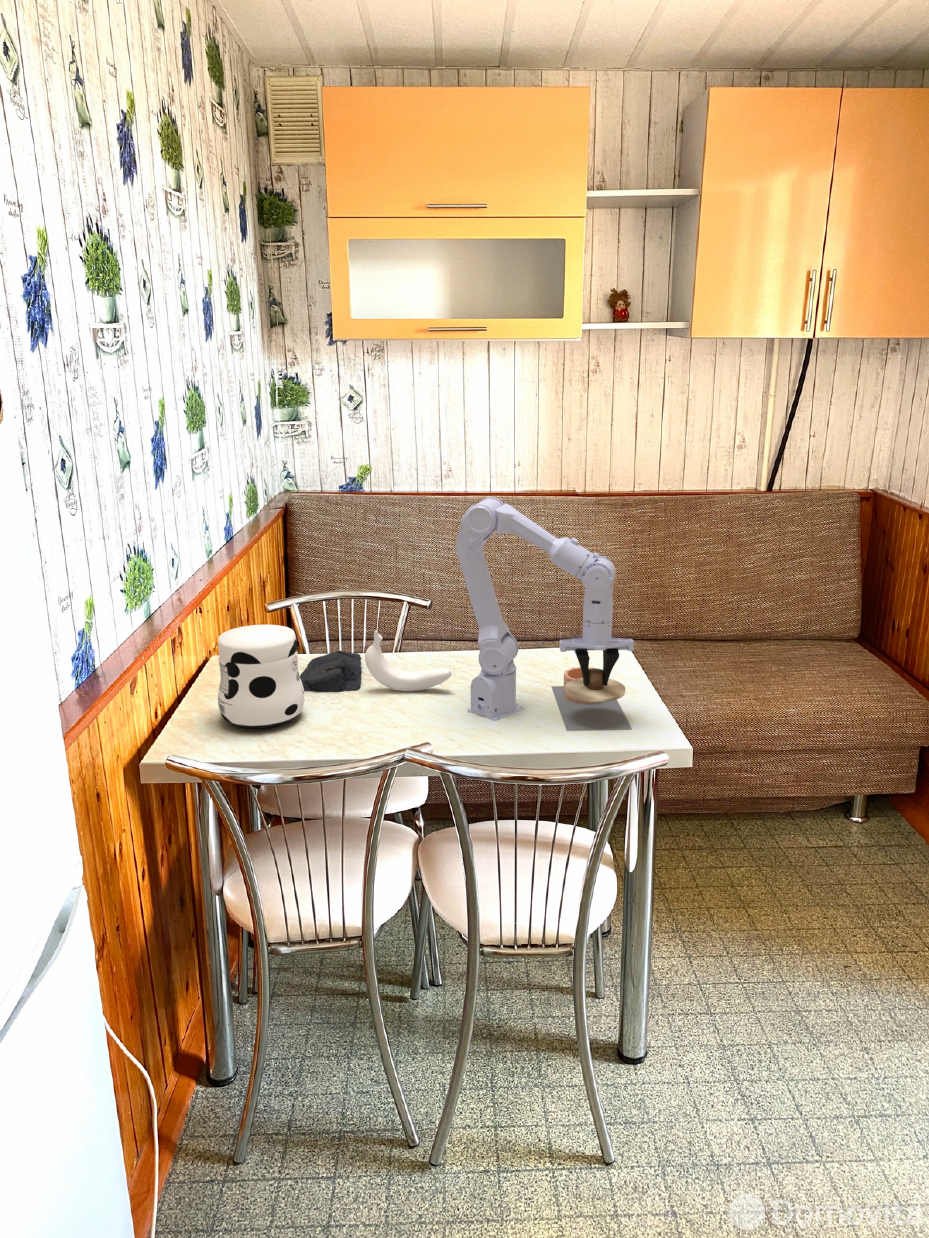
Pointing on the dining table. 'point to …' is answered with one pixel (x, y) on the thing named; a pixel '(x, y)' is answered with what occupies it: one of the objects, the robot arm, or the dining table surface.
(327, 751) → the dining table surface
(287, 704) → the milk container
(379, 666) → the banana
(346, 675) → the dark slate chunk
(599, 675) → the lid
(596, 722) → the mat
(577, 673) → the bowl
